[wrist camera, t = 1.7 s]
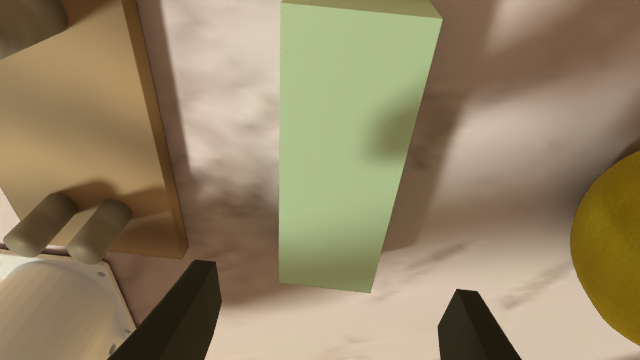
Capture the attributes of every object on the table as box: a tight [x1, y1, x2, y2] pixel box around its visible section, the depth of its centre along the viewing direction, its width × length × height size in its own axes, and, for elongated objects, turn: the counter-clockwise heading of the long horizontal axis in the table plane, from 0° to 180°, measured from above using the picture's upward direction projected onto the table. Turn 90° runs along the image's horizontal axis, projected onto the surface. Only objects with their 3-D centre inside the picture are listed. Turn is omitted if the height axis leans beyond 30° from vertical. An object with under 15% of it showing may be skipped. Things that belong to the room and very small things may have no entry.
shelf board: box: [278, 0, 443, 293], centre depth 17 cm, size 14×5×3 cm, turn 176°
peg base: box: [0, 0, 188, 264], centre depth 16 cm, size 17×9×4 cm, turn 176°
